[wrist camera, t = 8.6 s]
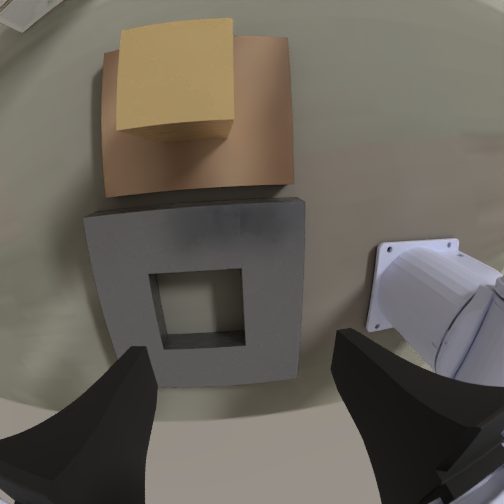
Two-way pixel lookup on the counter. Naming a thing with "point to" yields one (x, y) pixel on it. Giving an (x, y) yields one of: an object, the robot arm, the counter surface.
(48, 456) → the robot arm
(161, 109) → the brass peg
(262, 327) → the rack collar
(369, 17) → the counter surface
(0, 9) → the syrup box
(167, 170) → the walnut board
